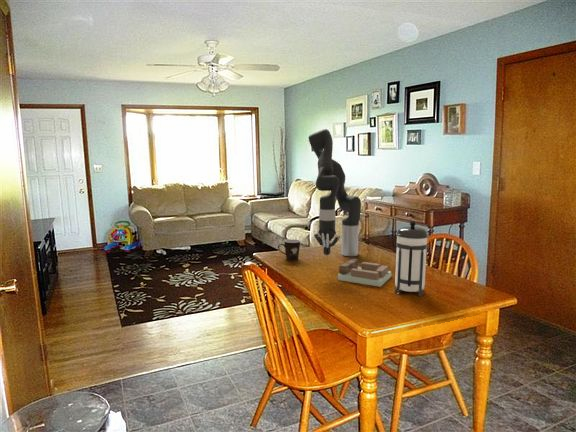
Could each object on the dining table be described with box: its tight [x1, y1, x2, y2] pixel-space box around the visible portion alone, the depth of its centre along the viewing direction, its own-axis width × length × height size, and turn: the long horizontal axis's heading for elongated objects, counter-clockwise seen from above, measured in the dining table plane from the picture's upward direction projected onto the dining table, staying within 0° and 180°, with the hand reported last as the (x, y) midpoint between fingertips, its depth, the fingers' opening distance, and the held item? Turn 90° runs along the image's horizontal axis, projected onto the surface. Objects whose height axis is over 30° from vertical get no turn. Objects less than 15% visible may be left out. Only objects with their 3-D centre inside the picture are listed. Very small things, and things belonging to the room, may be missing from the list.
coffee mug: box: [277, 238, 301, 262], centre depth 234 cm, size 12×9×10 cm
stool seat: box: [337, 261, 392, 287], centre depth 201 cm, size 17×20×6 cm
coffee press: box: [394, 220, 429, 297], centre depth 180 cm, size 17×16×30 cm
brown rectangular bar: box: [338, 258, 359, 274], centre depth 205 cm, size 15×3×4 cm, turn 147°
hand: (326, 254), depth 204 cm, fingers closed
